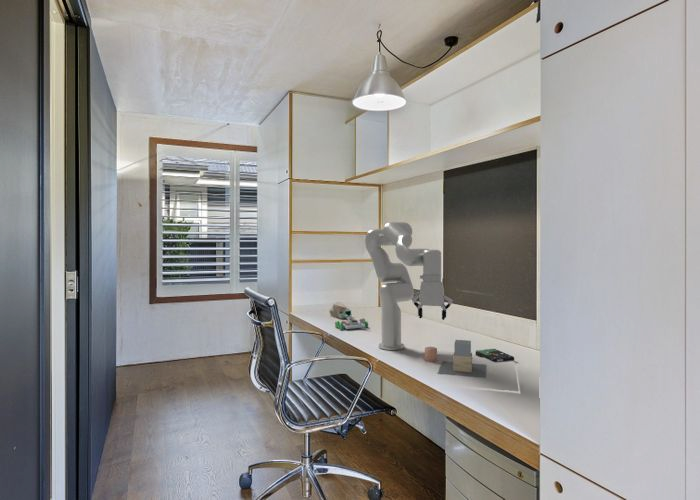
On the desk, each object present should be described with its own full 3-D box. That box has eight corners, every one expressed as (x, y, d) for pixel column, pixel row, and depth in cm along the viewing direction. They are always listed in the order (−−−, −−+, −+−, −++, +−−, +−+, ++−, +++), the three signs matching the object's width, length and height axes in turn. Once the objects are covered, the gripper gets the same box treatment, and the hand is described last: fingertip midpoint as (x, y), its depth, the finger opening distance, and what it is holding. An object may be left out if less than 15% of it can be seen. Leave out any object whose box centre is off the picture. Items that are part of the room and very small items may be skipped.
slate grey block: (455, 351, 180) (455, 339, 180) (470, 352, 178) (470, 340, 178) (454, 355, 175) (454, 343, 175) (470, 356, 173) (470, 344, 173)
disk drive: (514, 363, 189) (494, 354, 203) (514, 356, 189) (494, 348, 203) (494, 365, 186) (474, 355, 200) (494, 358, 186) (474, 349, 200)
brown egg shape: (425, 360, 193) (425, 346, 193) (437, 361, 191) (437, 347, 191) (423, 363, 188) (423, 349, 188) (436, 364, 186) (436, 350, 186)
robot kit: (355, 321, 283) (355, 307, 283) (371, 329, 259) (371, 313, 259) (328, 324, 276) (327, 309, 276) (341, 332, 253) (341, 315, 253)
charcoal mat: (442, 362, 188) (442, 361, 188) (486, 366, 182) (486, 364, 182) (437, 375, 171) (437, 373, 171) (485, 380, 165) (485, 377, 165)
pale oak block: (454, 365, 181) (454, 351, 181) (472, 367, 179) (472, 352, 179) (453, 370, 175) (453, 355, 174) (471, 372, 172) (471, 357, 172)
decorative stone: (351, 319, 291) (351, 304, 291) (341, 320, 288) (341, 305, 287) (337, 314, 309) (337, 300, 309) (327, 315, 305) (327, 301, 305)
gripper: (410, 278, 186) (410, 318, 187) (451, 280, 180) (451, 321, 181) (414, 277, 193) (414, 315, 194) (454, 278, 187) (453, 318, 188)
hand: (432, 318), depth 187 cm, fingers open, 9 cm apart
